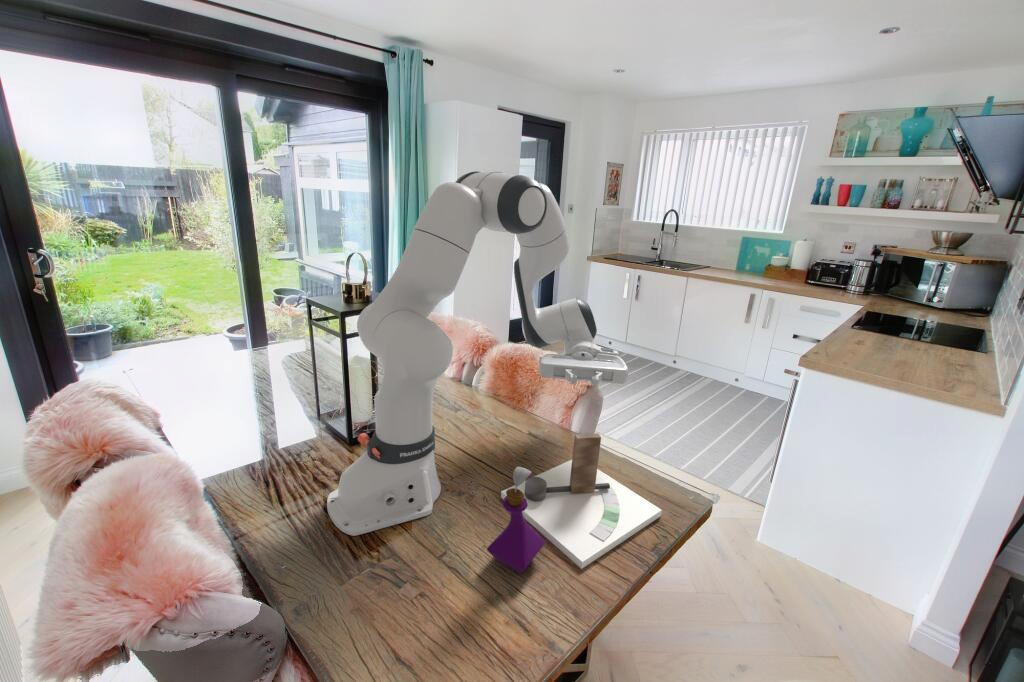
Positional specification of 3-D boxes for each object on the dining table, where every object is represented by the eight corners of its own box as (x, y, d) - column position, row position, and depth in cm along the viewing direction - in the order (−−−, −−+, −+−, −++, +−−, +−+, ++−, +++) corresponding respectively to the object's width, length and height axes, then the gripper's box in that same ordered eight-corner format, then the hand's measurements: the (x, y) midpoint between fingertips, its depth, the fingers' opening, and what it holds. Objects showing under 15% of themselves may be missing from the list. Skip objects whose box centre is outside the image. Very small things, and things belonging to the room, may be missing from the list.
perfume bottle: (523, 585, 73) (530, 491, 67) (485, 564, 76) (489, 474, 71) (545, 556, 79) (553, 468, 73) (509, 538, 83) (514, 453, 77)
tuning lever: (526, 501, 90) (531, 444, 86) (522, 488, 94) (526, 433, 90) (612, 495, 93) (620, 440, 89) (604, 482, 97) (611, 429, 93)
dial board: (581, 568, 77) (582, 560, 76) (500, 497, 93) (501, 490, 93) (660, 516, 90) (662, 509, 90) (577, 462, 107) (578, 455, 107)
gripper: (540, 344, 111) (537, 364, 97) (624, 351, 109) (633, 372, 96) (538, 368, 113) (535, 391, 99) (621, 375, 111) (629, 399, 98)
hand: (584, 382), depth 98 cm, fingers open, 3 cm apart
